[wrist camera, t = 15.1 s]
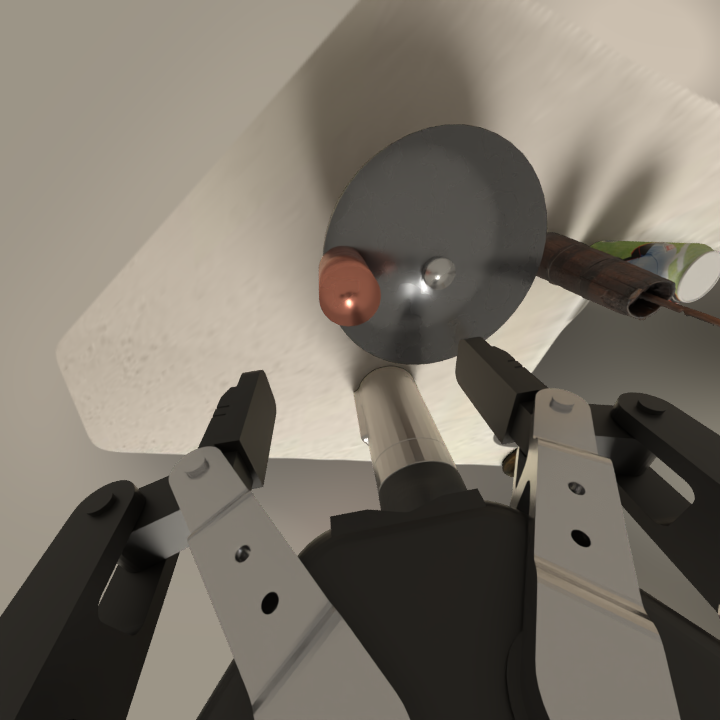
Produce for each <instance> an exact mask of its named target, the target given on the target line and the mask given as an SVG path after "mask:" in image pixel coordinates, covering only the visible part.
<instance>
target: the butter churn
mask: <svg viewBox="0 0 720 720" xmlns="http://www.w3.org/2000/svg"><path fill="white" fill-rule="evenodd" d="M536 276H538V277H540V278H542V279H545V280H547V281H549V283H552V284H555V285H558V286H561V287H563V288H564V289H566V290H568V291H571V292H573V293H575V294H578V295H580V296H582V297H583V298H585V299H587V300H591V301H593V302H595V303H597V304H600V305H602V306H604V307H606V308H609V309H611V310H613V311H615V312H618V313H620V314H623V315H627V316H631V317H633V318H636V319H639V320H645V319H646V318H647V317H649V316H651V315H653V314H654V313H656V312H657V311H658V310H659V309H660V308H661V307H662V306H664V307H666V308H668V309H671V310H674V311H676V312H679V313H680V312H681V311H684V313H685V315H686V316H692V317H695V318H697V319H700V320H703V321H705V322H708V323H710V324H713V325H716V326H719V327H720V319H718V318H716V317H713V316H710V315H708V314H705V313H702V312H699V311H696V310H693V309H690V308H688V307H683V306H682V305H679V304H676V303H674V302H670V301H669V300H671V298H672V296H674V295H675V291H676V287H675V286H676V284H675V282H673V281H671V280H668V279H666V278H663V277H661V276H659V275H656V274H654V273H652V272H650V271H648V270H645V269H643V268H640V267H638V266H636V265H633V264H631V263H629V262H627V261H624V260H623V259H621V258H620V257H615V256H613V255H610V254H608V253H605V252H603V251H601V250H598V249H595V248H592V247H590V246H587V245H586V244H584V243H581V242H578V241H576V240H574V239H571V238H568V237H565V236H563V235H559V234H556V233H548V234H546V242H545V247H544V251H543V256H542V260H541V263H540V266H539V269H538V272H537V274H536Z"/></svg>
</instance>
